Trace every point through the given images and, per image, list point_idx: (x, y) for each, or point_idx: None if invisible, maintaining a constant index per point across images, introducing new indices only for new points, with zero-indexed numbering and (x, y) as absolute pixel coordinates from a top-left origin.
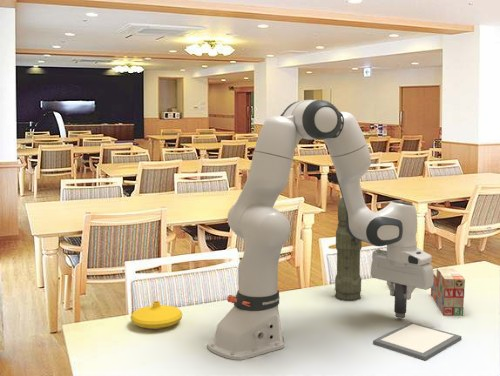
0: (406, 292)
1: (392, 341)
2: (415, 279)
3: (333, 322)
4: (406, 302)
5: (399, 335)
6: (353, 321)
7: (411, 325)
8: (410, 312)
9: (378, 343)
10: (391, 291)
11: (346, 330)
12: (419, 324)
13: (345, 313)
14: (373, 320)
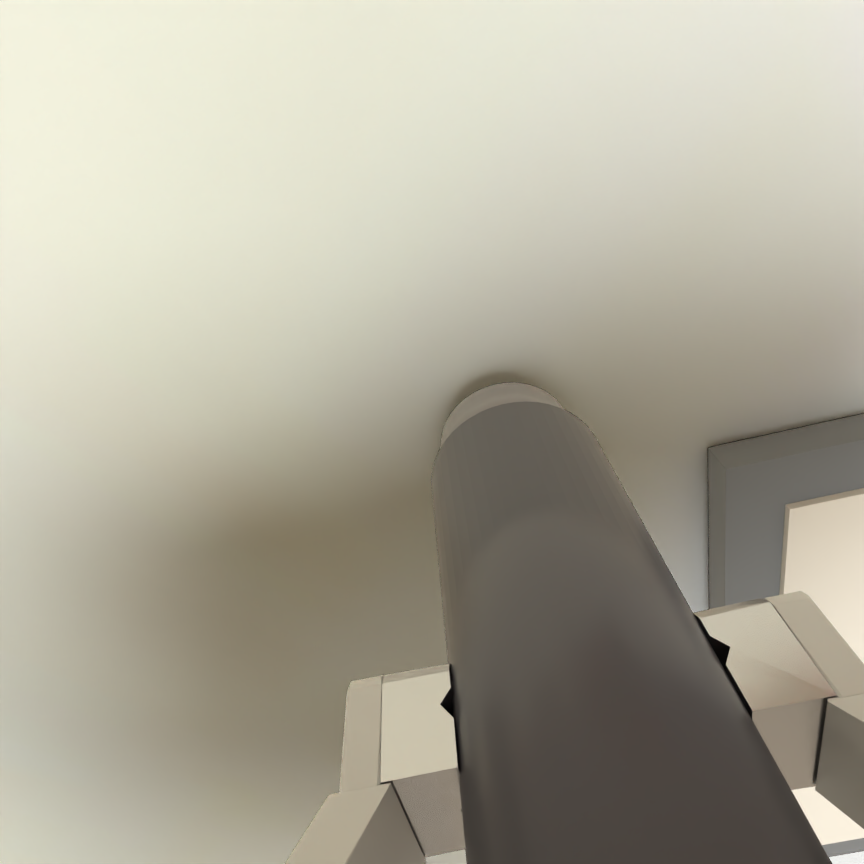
0: (758, 731)
1: (849, 824)
2: None
3: (236, 854)
4: (644, 528)
5: None
6: (289, 761)
7: (801, 548)
8: (361, 59)
9: None
10: (415, 834)
11: (425, 857)
12: (844, 441)
13: (59, 720)
14: (357, 639)
